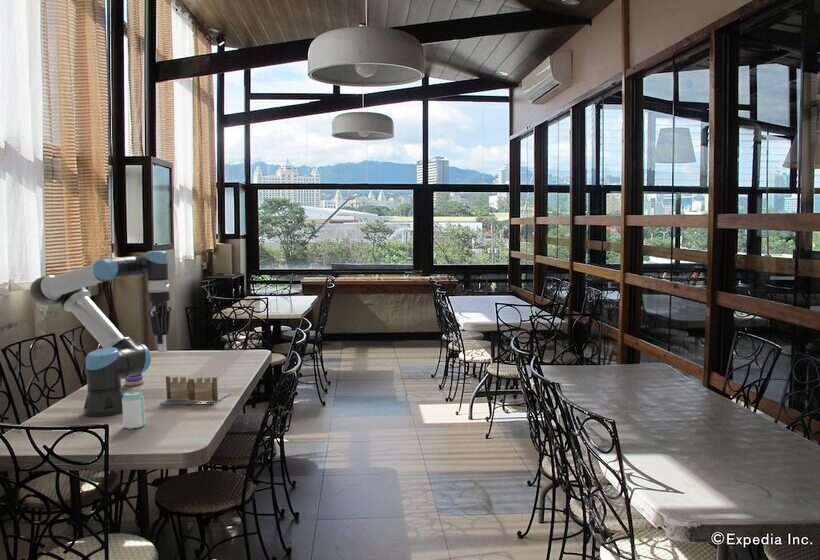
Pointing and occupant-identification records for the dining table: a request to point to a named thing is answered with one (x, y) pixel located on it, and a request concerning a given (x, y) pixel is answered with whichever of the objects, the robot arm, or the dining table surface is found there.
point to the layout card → (177, 401)
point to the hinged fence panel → (177, 388)
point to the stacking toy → (134, 380)
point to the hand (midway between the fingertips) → (162, 351)
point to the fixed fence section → (203, 389)
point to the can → (133, 410)
